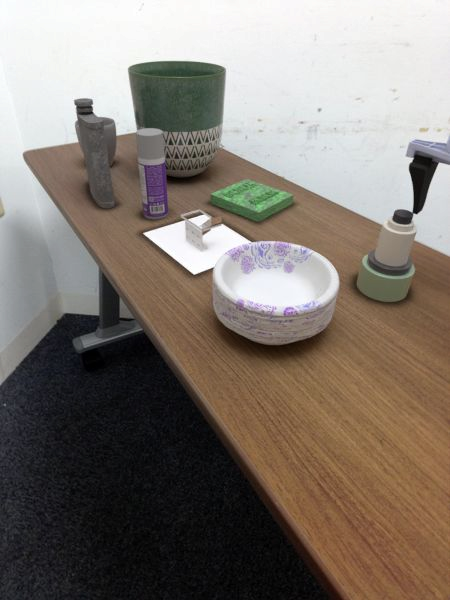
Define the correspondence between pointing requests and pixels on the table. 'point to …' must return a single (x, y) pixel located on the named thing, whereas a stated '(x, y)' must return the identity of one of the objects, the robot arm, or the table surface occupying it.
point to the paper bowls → (274, 291)
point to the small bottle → (396, 239)
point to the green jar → (384, 279)
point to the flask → (95, 153)
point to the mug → (109, 136)
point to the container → (152, 172)
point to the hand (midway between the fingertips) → (444, 220)
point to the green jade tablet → (251, 199)
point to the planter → (181, 110)
